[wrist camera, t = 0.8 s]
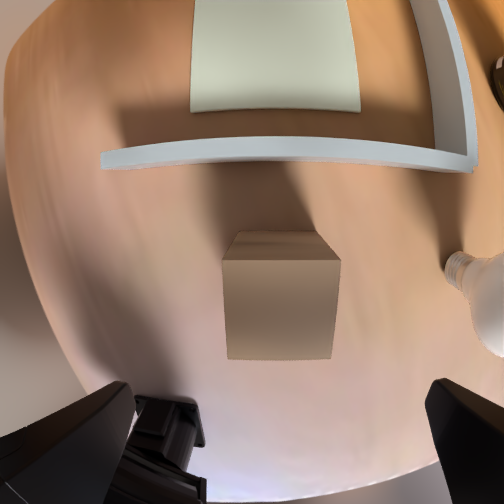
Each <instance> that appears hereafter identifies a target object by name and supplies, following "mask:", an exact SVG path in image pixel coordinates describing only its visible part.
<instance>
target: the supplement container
mask: <svg viewBox="0 0 504 504" xmlns="http://www.w3.org/2000/svg"><path fill="white" fill-rule="evenodd" d="M490 79H491V84H492V88H493V91H494V94H495V97H496V99H497V101H498V103H499V105H500V107H501V108H502V110H503V111H504V56H502V57H500V58H497V59H496V60H495V61H494V62H493V64H492V66H491V71H490Z"/></svg>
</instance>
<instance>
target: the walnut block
mask: <svg viewBox="0 0 504 504" xmlns="http://www.w3.org/2000/svg"><path fill="white" fill-rule="evenodd" d="M340 268H341V259H340V258H339V257H338V256H337V255H336V253H335V252H334V251H333V250H332V249H331V248H330V246H329V245H328V244H327V243H326V242H325V241H324V240H323V238H322V237H321V236H320V235H319V234H318V233H317V231H239V233H238V234H237V236H236V238H235V239H234V241H233V243H232V244H231V246H230V247H229V249H228V251H227V252H226V254H225V256H224V257H223V259H222V275H223V294H224V312H225V328H226V343H227V357H228V359H232V360H320V359H331V353H332V346H333V338H334V330H335V322H336V313H337V303H338V293H339V281H340Z"/></svg>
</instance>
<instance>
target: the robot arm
mask: <svg viewBox="0 0 504 504" xmlns="http://www.w3.org/2000/svg"><path fill="white" fill-rule="evenodd" d="M191 408H192V409H191ZM425 409H426V412H427V416H428V420H429V424H430V428H431V432H432V437H433V441H434V445H435V448H436V451H437V454H438V457H439V460H440V463H441V466H442V469H443V472H444V475H445V479H446V482H447V485H448V489H449V492H450V496H451V500H452V503H453V504H504V408H503V407H501V406H499V405H497V404H495V403H493V402H491V401H489V400H487V399H485V398H483V397H481V396H480V395H478V394H476V393H474V392H472V391H470V390H468V389H466V388H464V387H462V386H460V385H458V384H456V383H455V382H453V381H451V380H449V379H447V378H441V379H437V380H434V381H433V383H432V385H431V387H430V390H429V392H428V395H427V397H426V399H425ZM135 410H136V412H137V415H138V418H137V420H136V422H135V424H134V426H133V429H132V431H131V433H130V435H129V437H128V434H129V430H130V427H131V423H132V420H133V416H134V413H135ZM127 437H128V439H127ZM204 446H205V438H204V434H203V429H202V424H201V419H200V414H199V409H198V407H197V406H196V405H195V404H190V403H181V402H174V401H167V400H160V399H154V398H148V397H142V396H137V395H135V396H133V393H132V390H131V387H130V385H129V384H128V383H126V382H121V381H114V382H112V383H110V384H108V385H107V386H105V387H103V388H101V389H99V390H97V391H95V392H93V393H92V394H90V395H88V396H86V397H84V398H82V399H80V400H78V401H76V402H74V403H72V404H70V405H69V406H66V407H65V408H63V409H61V410H59V411H57V412H55V413H53V414H51V415H49V416H46V417H44V418H43V419H40V420H39V421H36V422H34V423H32V424H30V425H28V426H27V427H23V428H21V429H19V430H17V431H15V432H12V433H10V434H8V435H5V436H3V437H0V504H206V485H207V479H205V478H202V477H197V476H195V475H192V474H190V473H187V472H186V471H187V467H188V464H189V460H190V457H191V453H192V450H193V447H201V448H202V447H204Z"/></svg>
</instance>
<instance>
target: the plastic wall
mask: <svg viewBox="0 0 504 504" xmlns="http://www.w3.org/2000/svg"><path fill="white" fill-rule="evenodd" d="M410 3H411V7H412V10H413V13H414V17H415V20H416V24H417V28H418V31H419V35H420V40H421V44H422V48H423V53H424V58H425V63H426V68H427V74H428V80H429V87H430V94H431V102H432V112H433V122H434V137H435V150H434V149H429V148H423V147H416V146H409V145H402V144H395V143H386V142H377V141H367V140H356V139H343V138H326V137H298V136H256V137H228V138H211V139H197V140H186V141H175V142H166V143H158V144H150V145H143V146H136V147H129V148H123V149H117V150H111V151H105V152H101V169H117V170H134V169H143V168H152V167H162V166H174V165H186V164H201V163H220V162H249V161H306V162H335V163H353V164H368V165H380V166H391V167H401V168H410V169H418V170H426V171H434V172H442V173H473V166H478V145H477V131H476V120H475V111H474V104H473V97H472V91H471V85H470V80H469V74H468V70H467V65H466V61H465V56H464V52H463V49H462V45H461V41H460V38H459V34H458V31H457V28H456V25H455V22H454V19H453V16H452V13H451V10H450V7H449V5H448V2H447V0H410Z"/></svg>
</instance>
